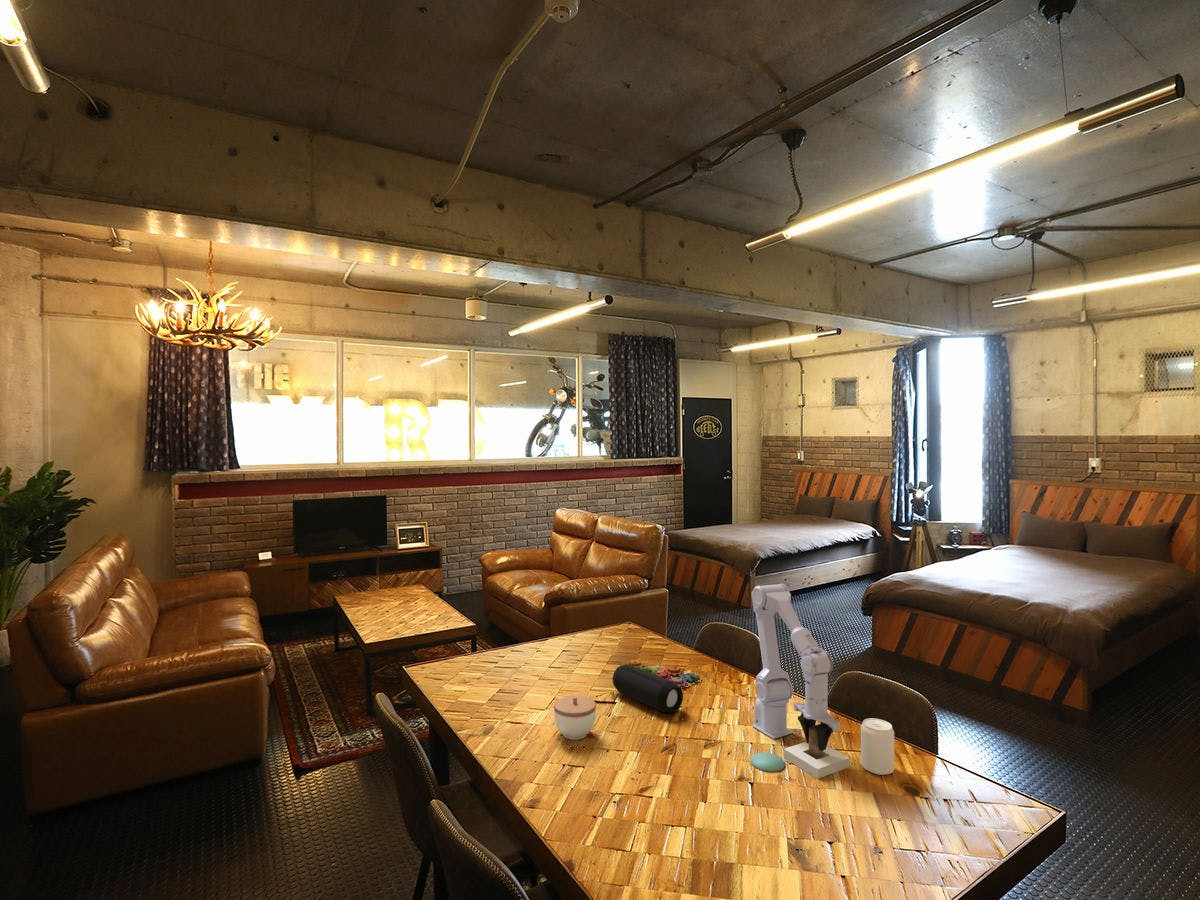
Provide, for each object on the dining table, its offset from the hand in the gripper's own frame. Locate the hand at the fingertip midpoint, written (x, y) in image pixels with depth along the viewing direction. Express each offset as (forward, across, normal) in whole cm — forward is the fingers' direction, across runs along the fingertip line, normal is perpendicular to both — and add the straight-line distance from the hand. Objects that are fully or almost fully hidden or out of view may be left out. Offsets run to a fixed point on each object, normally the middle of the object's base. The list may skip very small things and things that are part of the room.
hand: (816, 746), depth 168 cm
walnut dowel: (+3, 0, 0) cm, 3 cm away
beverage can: (+5, +10, +12) cm, 16 cm away
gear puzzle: (+6, -74, -2) cm, 74 cm away
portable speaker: (+5, -55, -20) cm, 59 cm away
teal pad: (+4, -6, -12) cm, 14 cm away
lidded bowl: (+5, -46, -51) cm, 69 cm away
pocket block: (+4, 0, 0) cm, 5 cm away
